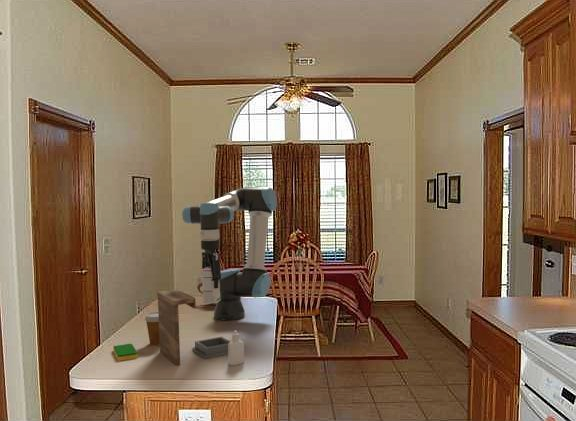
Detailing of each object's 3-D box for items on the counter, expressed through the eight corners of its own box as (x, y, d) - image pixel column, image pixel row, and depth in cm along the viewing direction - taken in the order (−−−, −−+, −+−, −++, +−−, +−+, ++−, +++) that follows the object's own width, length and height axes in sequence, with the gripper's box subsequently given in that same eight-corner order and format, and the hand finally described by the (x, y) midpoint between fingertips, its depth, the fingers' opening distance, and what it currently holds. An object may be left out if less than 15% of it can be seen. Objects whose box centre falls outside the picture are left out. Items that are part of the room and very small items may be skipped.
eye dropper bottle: (228, 361, 194) (227, 329, 193) (244, 360, 194) (243, 328, 194) (228, 365, 189) (227, 332, 189) (244, 364, 190) (243, 331, 189)
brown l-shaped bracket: (179, 348, 212) (177, 289, 211) (197, 361, 195) (195, 298, 194) (159, 351, 208) (157, 292, 207) (176, 365, 191) (174, 300, 190)
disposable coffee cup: (173, 340, 223) (172, 312, 222) (161, 347, 214) (160, 317, 213) (154, 339, 226) (153, 311, 225) (141, 345, 217) (140, 316, 216)
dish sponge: (131, 349, 214) (131, 343, 214) (137, 358, 201) (137, 352, 201) (113, 351, 211) (113, 345, 211) (118, 361, 198) (117, 355, 198)
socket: (222, 344, 216) (222, 335, 215) (236, 352, 204) (236, 343, 204) (192, 349, 209) (192, 341, 209) (204, 358, 198) (204, 349, 198)
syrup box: (216, 303, 217) (215, 268, 217) (202, 303, 219) (201, 268, 218) (220, 300, 223) (219, 266, 222) (207, 300, 224) (206, 266, 223)
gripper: (192, 238, 227) (194, 291, 228) (211, 242, 209) (212, 299, 210) (209, 237, 230) (210, 289, 231) (228, 240, 213) (230, 297, 214)
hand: (211, 294), depth 221 cm, fingers closed on syrup box, 8 cm apart
